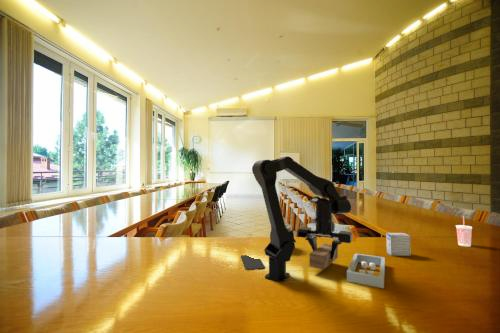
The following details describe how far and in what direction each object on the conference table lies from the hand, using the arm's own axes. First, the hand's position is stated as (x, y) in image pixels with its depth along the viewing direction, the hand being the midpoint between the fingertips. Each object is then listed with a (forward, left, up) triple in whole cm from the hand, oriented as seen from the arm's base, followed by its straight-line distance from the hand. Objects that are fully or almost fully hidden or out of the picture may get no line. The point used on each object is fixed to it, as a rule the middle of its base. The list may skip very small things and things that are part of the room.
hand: (324, 258), depth 91 cm
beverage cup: (+62, -52, -4) cm, 81 cm away
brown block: (0, 0, -1) cm, 1 cm away
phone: (-7, +26, -4) cm, 27 cm away
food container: (+17, +22, -4) cm, 28 cm away
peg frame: (+3, -14, -4) cm, 15 cm away
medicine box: (+31, -24, -4) cm, 39 cm away
